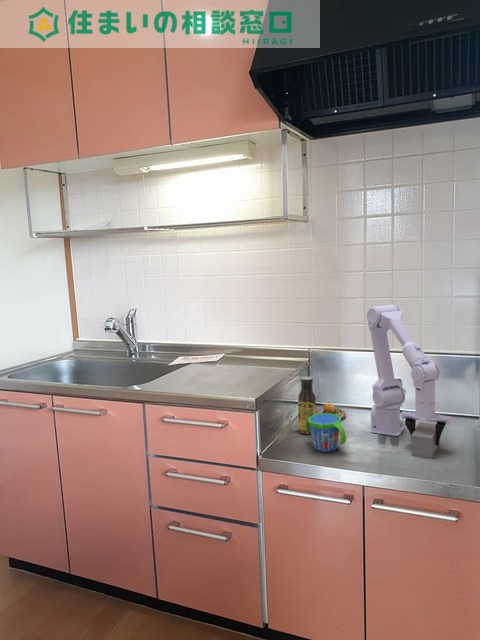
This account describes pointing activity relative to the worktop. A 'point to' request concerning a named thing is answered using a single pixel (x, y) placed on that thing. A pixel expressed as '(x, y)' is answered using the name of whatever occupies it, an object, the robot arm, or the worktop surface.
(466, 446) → the worktop surface
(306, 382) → the sauce bottle
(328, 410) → the fruit bowl
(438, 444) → the robot arm
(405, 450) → the worktop surface
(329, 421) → the snack cup
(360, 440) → the worktop surface
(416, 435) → the grey rectangular block
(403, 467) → the worktop surface
